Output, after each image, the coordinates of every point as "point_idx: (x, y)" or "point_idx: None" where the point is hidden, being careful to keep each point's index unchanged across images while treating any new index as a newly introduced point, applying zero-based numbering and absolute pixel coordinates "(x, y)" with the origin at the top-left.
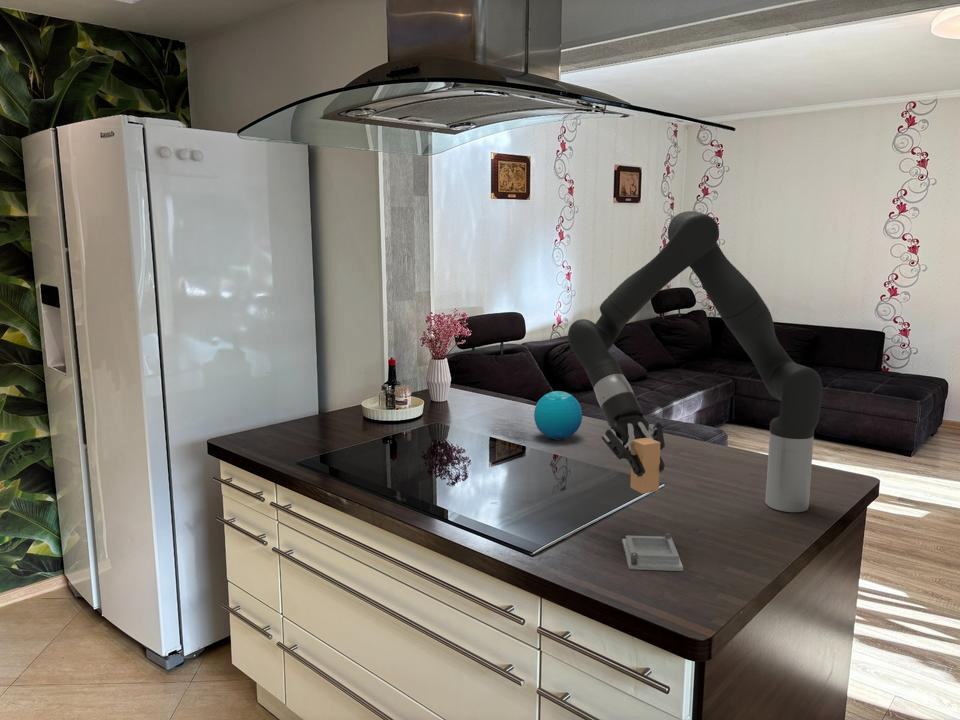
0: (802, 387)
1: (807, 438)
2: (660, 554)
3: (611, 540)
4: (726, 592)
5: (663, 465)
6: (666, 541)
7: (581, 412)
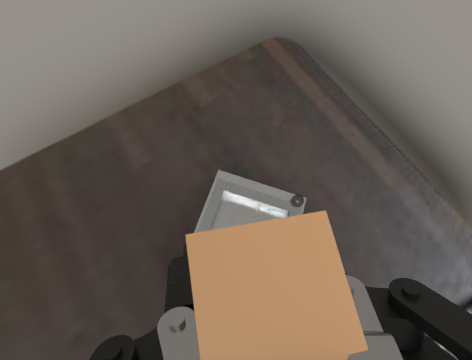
0: None
1: None
2: (247, 194)
3: None
4: (193, 104)
5: (177, 260)
6: None
7: None
